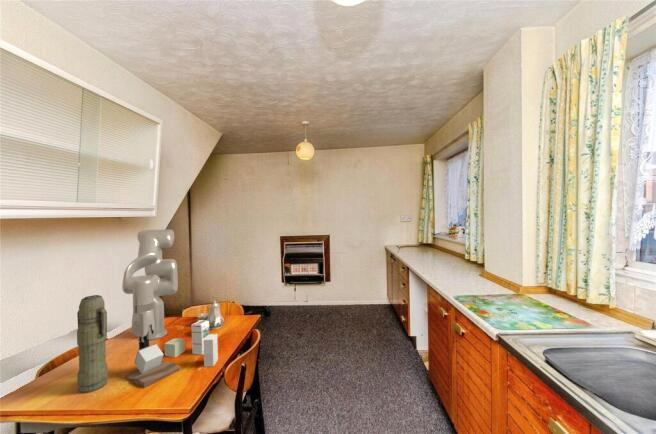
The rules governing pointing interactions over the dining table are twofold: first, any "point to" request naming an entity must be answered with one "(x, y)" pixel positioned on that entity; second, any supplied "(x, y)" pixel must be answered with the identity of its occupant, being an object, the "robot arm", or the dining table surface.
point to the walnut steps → (153, 374)
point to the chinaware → (213, 316)
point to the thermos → (92, 344)
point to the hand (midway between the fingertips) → (144, 350)
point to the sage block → (174, 347)
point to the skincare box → (210, 350)
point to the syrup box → (199, 336)
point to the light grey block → (148, 358)
